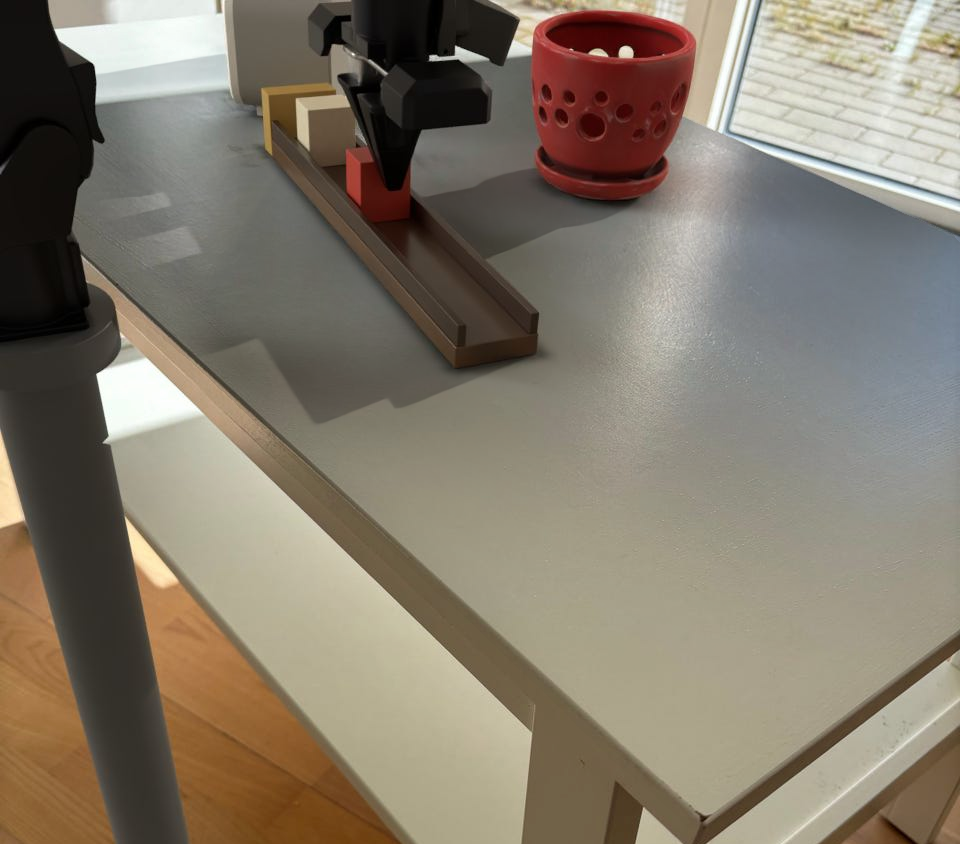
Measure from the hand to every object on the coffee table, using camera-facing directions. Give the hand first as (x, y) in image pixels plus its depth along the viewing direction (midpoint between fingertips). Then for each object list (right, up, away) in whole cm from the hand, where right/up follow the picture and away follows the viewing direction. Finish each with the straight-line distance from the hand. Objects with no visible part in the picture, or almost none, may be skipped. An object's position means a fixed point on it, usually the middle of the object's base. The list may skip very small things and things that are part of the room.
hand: (393, 189), depth 80 cm
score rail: (-1, -3, +4) cm, 5 cm away
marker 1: (-6, +7, +11) cm, 15 cm away
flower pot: (+16, +7, +15) cm, 24 cm away
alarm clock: (-10, +23, +30) cm, 39 cm away
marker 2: (-1, 0, +4) cm, 4 cm away
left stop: (-9, +10, +16) cm, 21 cm away
